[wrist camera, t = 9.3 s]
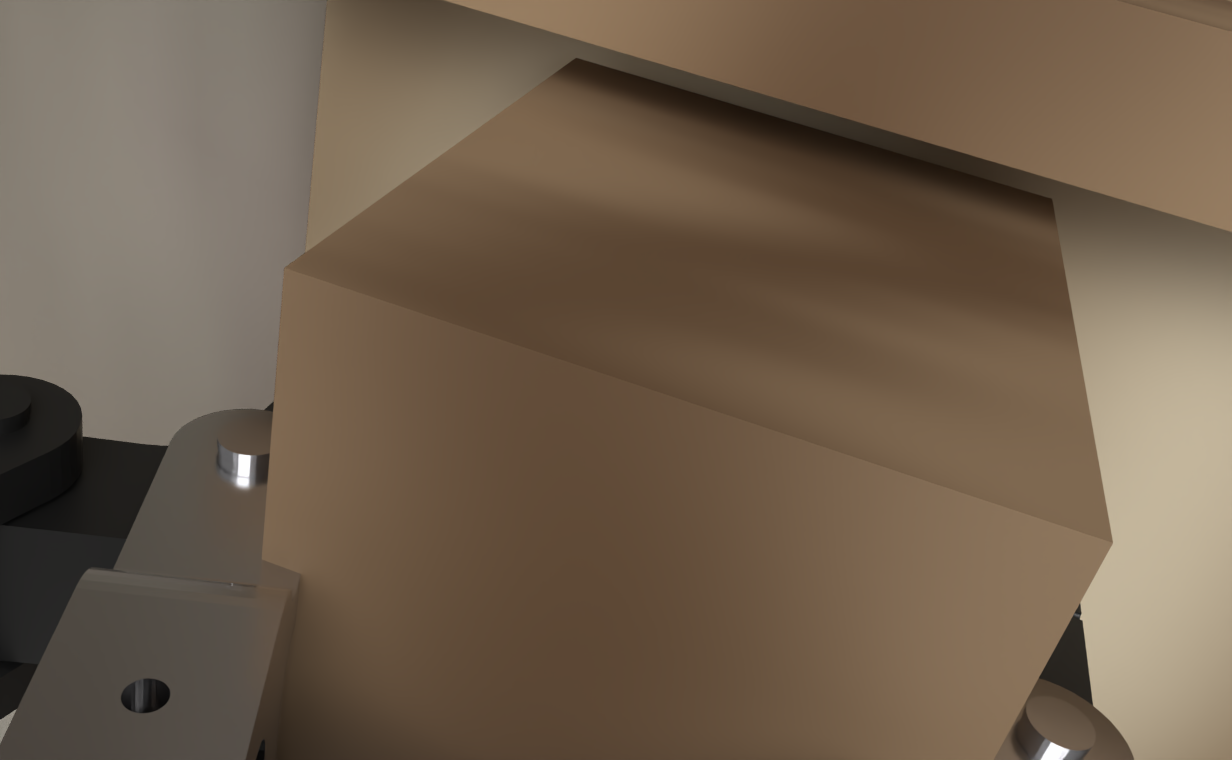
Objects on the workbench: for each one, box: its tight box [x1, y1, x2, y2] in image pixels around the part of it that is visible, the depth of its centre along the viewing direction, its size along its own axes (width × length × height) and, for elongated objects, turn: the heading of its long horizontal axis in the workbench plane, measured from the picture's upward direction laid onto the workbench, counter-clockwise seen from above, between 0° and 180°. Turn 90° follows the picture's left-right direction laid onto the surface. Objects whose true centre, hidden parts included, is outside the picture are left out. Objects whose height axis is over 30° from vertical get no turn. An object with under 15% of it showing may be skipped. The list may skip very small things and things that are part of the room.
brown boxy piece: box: [262, 58, 1113, 760], centre depth 12 cm, size 5×10×6 cm, turn 167°
